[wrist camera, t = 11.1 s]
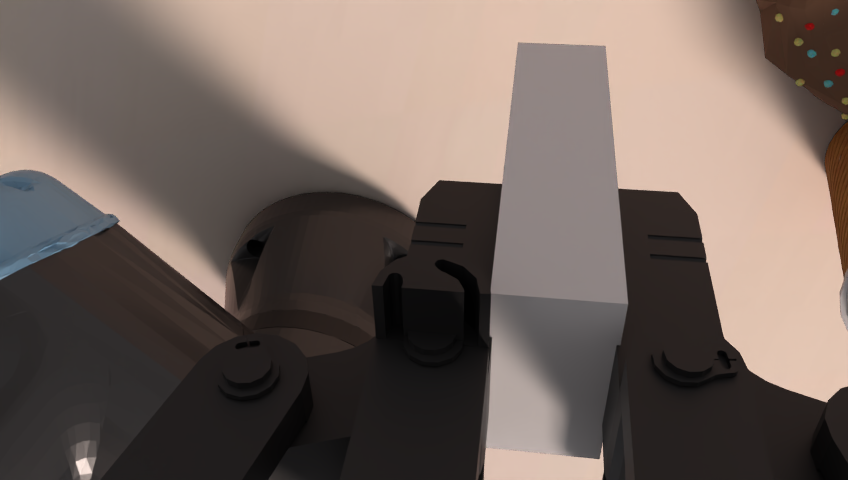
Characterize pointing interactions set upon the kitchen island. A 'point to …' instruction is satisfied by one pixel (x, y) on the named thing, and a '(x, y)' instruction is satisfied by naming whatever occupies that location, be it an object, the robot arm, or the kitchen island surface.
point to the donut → (810, 45)
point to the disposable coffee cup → (840, 204)
